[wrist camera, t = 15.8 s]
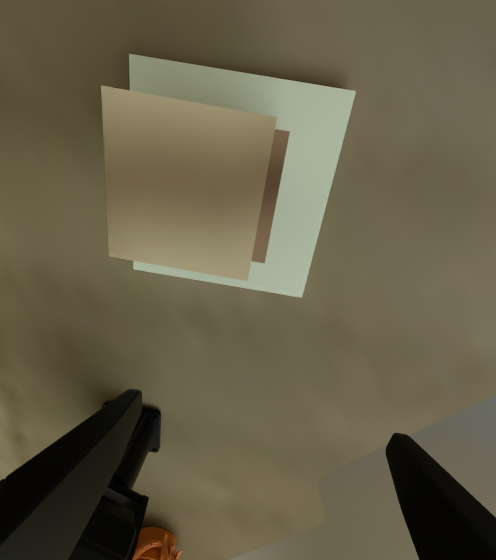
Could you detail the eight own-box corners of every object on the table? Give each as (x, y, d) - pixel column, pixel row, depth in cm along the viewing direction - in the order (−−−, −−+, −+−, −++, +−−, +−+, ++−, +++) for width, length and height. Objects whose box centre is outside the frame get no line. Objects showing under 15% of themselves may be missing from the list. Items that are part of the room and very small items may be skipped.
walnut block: (264, 244, 18) (264, 263, 13) (180, 230, 18) (151, 244, 13) (282, 149, 16) (290, 131, 11) (185, 132, 16) (152, 108, 11)
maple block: (253, 249, 13) (247, 281, 8) (164, 233, 13) (109, 256, 8) (271, 147, 11) (276, 117, 7) (168, 129, 11) (100, 85, 7)
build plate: (299, 291, 20) (301, 297, 19) (140, 265, 20) (133, 269, 19) (349, 98, 15) (356, 91, 14) (138, 63, 15) (129, 53, 14)
